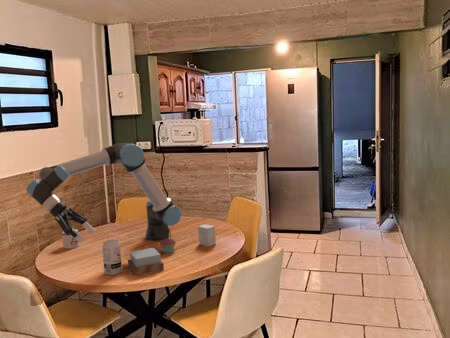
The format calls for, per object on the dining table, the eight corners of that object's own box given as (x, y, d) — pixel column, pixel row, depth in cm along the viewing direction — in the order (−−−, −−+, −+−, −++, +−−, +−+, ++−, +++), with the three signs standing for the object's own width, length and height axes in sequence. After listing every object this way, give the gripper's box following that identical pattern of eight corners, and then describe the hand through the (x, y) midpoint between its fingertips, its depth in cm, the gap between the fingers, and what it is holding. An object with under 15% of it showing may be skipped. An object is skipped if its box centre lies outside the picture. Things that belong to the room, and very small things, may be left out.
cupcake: (178, 249, 241) (177, 228, 239) (171, 254, 233) (170, 232, 231) (164, 248, 244) (163, 227, 242) (157, 253, 236) (155, 231, 234)
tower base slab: (155, 262, 224) (155, 254, 224) (163, 271, 212) (163, 263, 211) (128, 267, 219) (127, 259, 218) (135, 277, 206) (134, 268, 205)
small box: (216, 244, 247) (215, 226, 245) (208, 247, 243) (207, 228, 241) (205, 241, 252) (205, 224, 251) (198, 244, 248) (197, 226, 247)
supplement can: (106, 269, 215) (103, 240, 213) (123, 268, 216) (120, 239, 214) (103, 276, 207) (100, 245, 205) (120, 274, 208) (118, 244, 206)
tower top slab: (154, 255, 223) (153, 247, 222) (161, 262, 212) (160, 254, 212) (130, 259, 218) (129, 251, 217) (136, 267, 207) (135, 259, 207)
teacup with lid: (72, 249, 249) (70, 229, 247) (59, 248, 252) (57, 228, 250) (86, 243, 260) (84, 224, 258) (73, 242, 263) (71, 223, 261)
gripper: (62, 205, 222) (93, 234, 223) (36, 218, 198) (71, 250, 198) (71, 195, 221) (102, 223, 222) (46, 206, 196) (82, 238, 197)
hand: (88, 236), depth 210 cm, fingers open, 13 cm apart
